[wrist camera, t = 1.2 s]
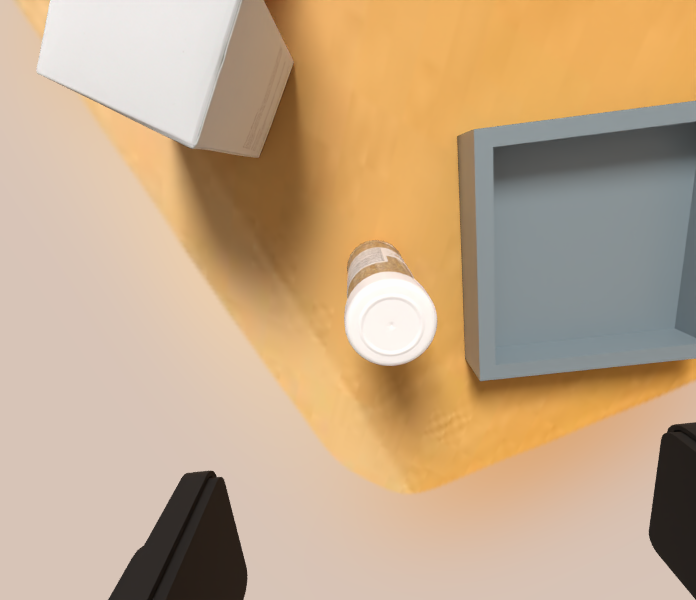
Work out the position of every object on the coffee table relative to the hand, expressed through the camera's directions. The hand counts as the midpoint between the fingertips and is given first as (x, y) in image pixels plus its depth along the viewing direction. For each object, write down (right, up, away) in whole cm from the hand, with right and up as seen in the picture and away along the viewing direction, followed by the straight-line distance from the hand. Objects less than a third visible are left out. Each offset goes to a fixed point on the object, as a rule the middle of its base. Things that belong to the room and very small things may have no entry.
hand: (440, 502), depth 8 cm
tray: (+16, +9, +23) cm, 29 cm away
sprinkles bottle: (0, +7, +23) cm, 25 cm away
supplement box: (-10, +19, +20) cm, 30 cm away
